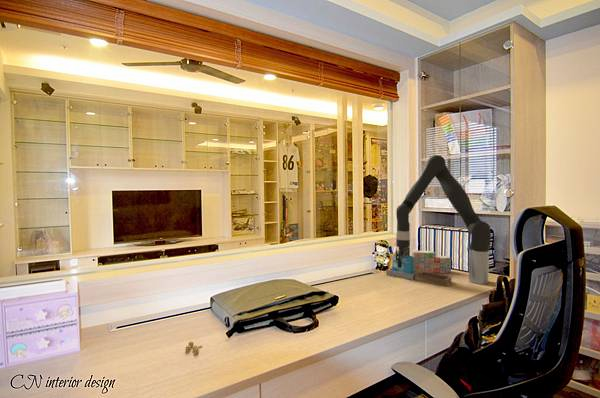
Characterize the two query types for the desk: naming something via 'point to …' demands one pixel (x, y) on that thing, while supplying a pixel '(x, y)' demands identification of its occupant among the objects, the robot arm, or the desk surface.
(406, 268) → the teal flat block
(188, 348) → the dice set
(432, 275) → the walnut bin
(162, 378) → the desk surface
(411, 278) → the grey bin
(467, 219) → the robot arm
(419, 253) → the stack of blocks
